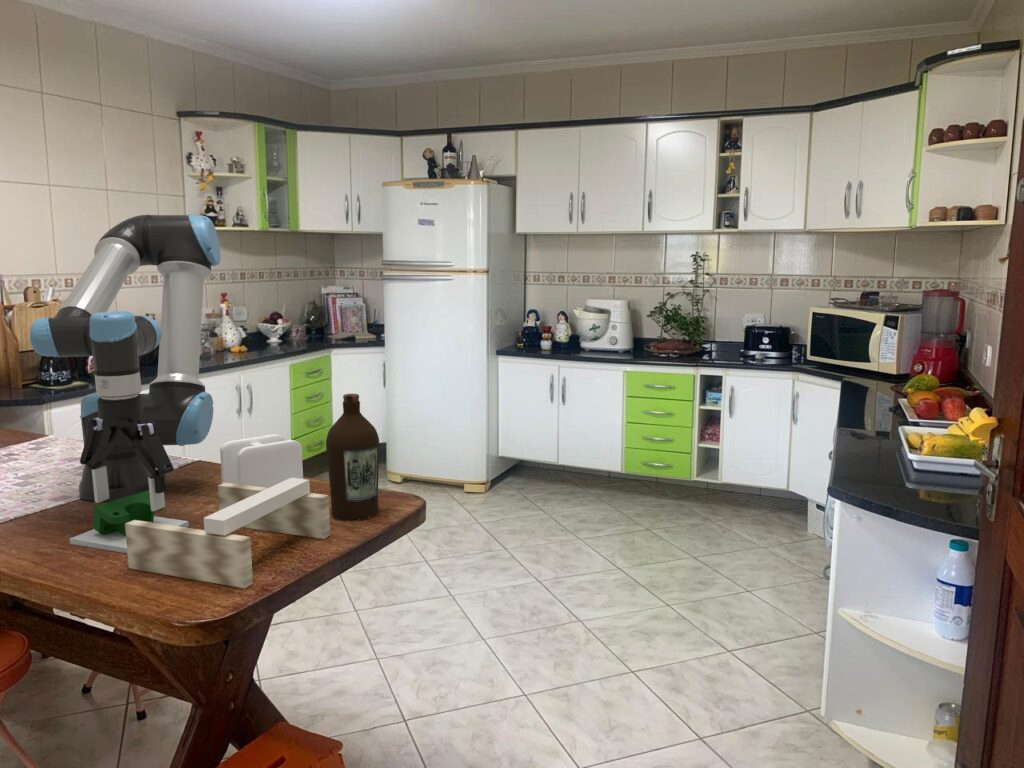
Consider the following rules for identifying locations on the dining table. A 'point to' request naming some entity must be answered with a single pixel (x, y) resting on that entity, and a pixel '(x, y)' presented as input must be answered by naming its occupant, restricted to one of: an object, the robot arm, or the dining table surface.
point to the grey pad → (116, 537)
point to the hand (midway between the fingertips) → (129, 504)
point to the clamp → (122, 513)
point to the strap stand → (221, 539)
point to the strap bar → (255, 506)
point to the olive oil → (353, 463)
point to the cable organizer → (261, 461)
